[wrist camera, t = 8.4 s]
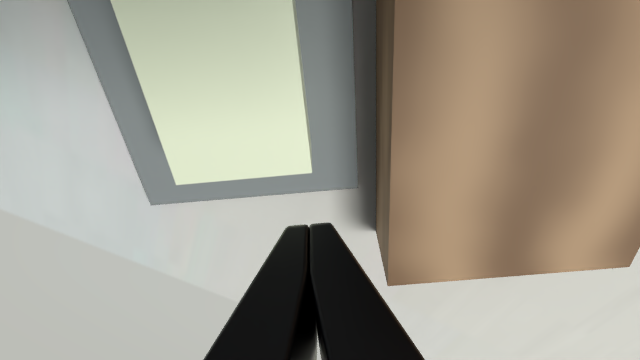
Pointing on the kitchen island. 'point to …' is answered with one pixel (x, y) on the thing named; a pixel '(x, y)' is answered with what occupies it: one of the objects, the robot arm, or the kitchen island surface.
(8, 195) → the kitchen island surface
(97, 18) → the slate mat
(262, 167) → the sage tile
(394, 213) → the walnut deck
